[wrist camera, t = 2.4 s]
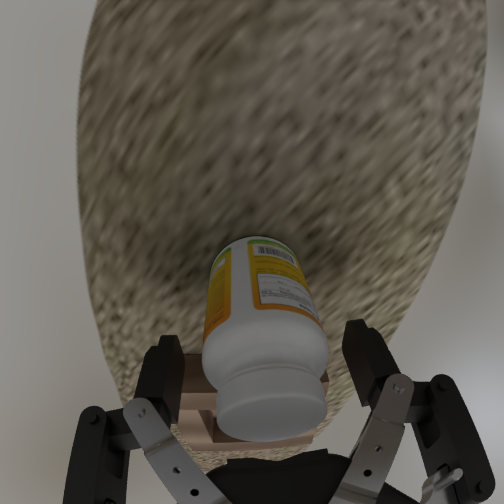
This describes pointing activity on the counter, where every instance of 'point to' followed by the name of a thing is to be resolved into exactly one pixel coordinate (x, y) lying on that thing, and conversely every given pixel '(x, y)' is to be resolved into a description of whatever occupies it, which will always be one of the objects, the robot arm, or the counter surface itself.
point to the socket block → (205, 415)
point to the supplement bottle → (263, 343)
